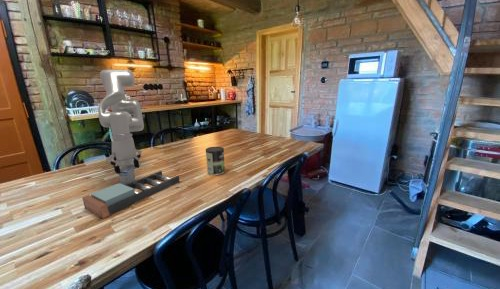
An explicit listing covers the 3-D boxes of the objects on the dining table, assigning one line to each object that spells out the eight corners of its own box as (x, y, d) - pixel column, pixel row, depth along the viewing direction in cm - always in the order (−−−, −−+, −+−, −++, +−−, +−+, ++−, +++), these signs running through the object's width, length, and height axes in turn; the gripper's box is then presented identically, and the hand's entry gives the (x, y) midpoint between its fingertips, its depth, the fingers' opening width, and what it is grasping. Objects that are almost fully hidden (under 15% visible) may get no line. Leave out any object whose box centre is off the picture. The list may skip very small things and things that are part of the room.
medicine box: (126, 178, 119) (124, 164, 116) (135, 178, 120) (133, 164, 116) (120, 186, 112) (118, 171, 109) (130, 186, 113) (127, 171, 109)
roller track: (84, 207, 93) (82, 197, 92) (161, 176, 124) (160, 167, 123) (103, 218, 86) (100, 207, 84) (179, 181, 117) (178, 172, 115)
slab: (92, 200, 94) (90, 193, 93) (120, 188, 104) (119, 183, 103) (106, 207, 88) (105, 201, 87) (135, 194, 98) (134, 188, 97)
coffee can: (227, 169, 133) (226, 146, 129) (221, 175, 123) (220, 151, 119) (211, 168, 135) (209, 146, 131) (204, 174, 125) (202, 151, 121)
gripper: (134, 134, 118) (139, 164, 121) (99, 140, 104) (106, 174, 107) (142, 134, 114) (147, 166, 118) (107, 141, 100) (114, 176, 103)
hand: (127, 170), depth 112 cm, fingers open, 9 cm apart
